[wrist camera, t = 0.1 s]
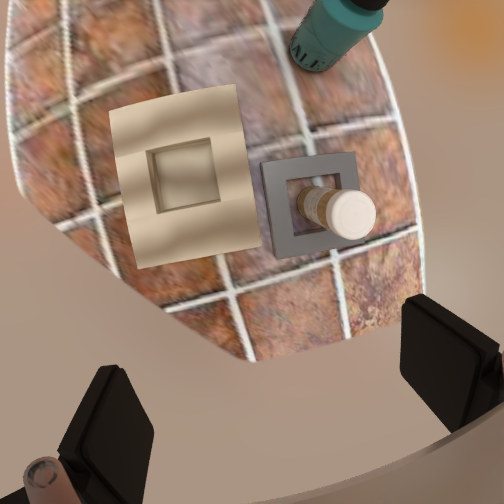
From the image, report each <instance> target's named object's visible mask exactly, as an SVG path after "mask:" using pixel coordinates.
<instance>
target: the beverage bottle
mask: <svg viewBox="0 0 504 504" xmlns="http://www.w3.org/2000/svg"><path fill="white" fill-rule="evenodd" d="M388 1H389V0H315V3H314V4H311V5H313V6H312V7H311V6H310V7H311V9H310V8H309V9H308V11H309V12H307V13H308V14H307V15H306V17H304V20H303V19H302V20H303V22H301V25H299V26H300V27H298V29H297V31H296V32H295V34H294V35H293V38H292V39H291V44H289V45H290V47H289V49H290V51H291V52H290V53H291V55H292V57H293V59H294V60H295V62H296V63H297V64H298V65H300V66H301V67H302V68H304V69H307V70H310V71H315V72H316V71H320V72H322V71H324V70H326V69H327V70H329V69H330V67H333V66H334V63H335V64H336V62H337V61H338V60H340V58H341V57H342V56H343V55H344V56H345V54H346V53H347V52H348V51H349V50H350V49H351V48H352V47H353V46H354V45H356V44H357V43H358V42H359V41H360V40H362V39H363V38H364V37H365V36H366V35H368V34H369V33H370V32H371V31H372V30H374V29H376V28H377V27H378V26H379V25H380V24H381V22H382V20H383V9H382V8H383V7H384V6H385V5H386V4H387V2H388ZM346 55H347V54H346ZM332 65H333V66H332ZM328 68H329V69H328Z"/></svg>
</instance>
